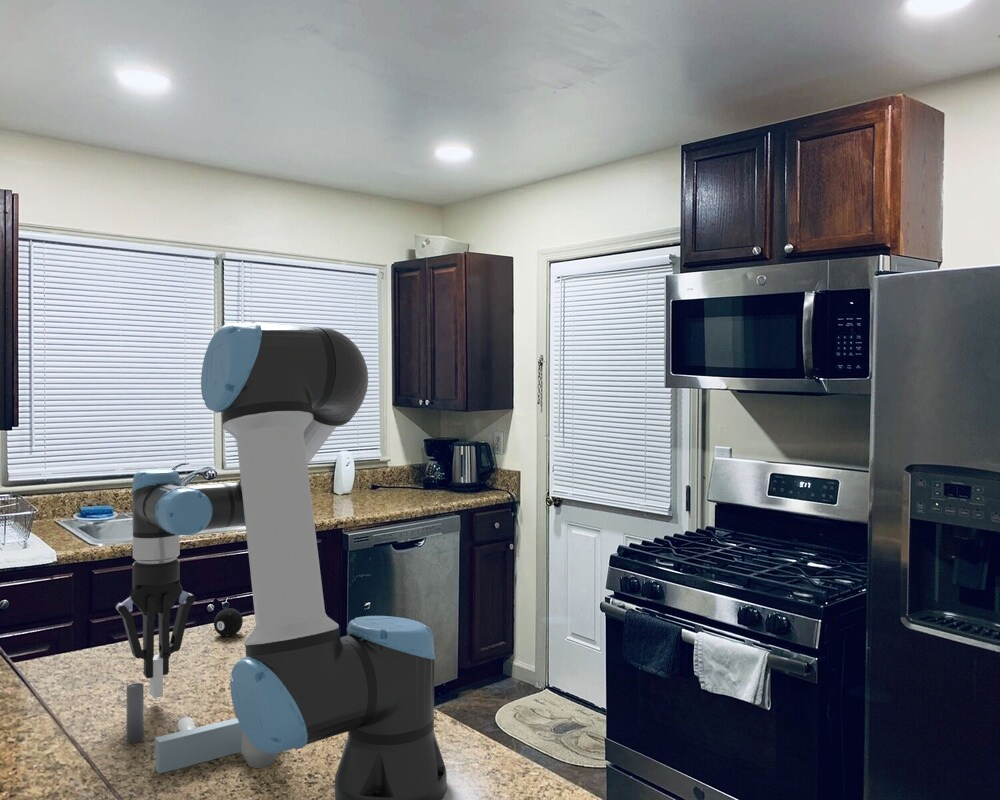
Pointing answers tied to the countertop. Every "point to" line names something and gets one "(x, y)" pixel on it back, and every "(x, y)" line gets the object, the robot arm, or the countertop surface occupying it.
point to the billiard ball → (228, 622)
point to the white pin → (185, 724)
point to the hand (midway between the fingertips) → (156, 694)
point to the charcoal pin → (135, 713)
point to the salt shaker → (256, 754)
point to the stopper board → (197, 745)
